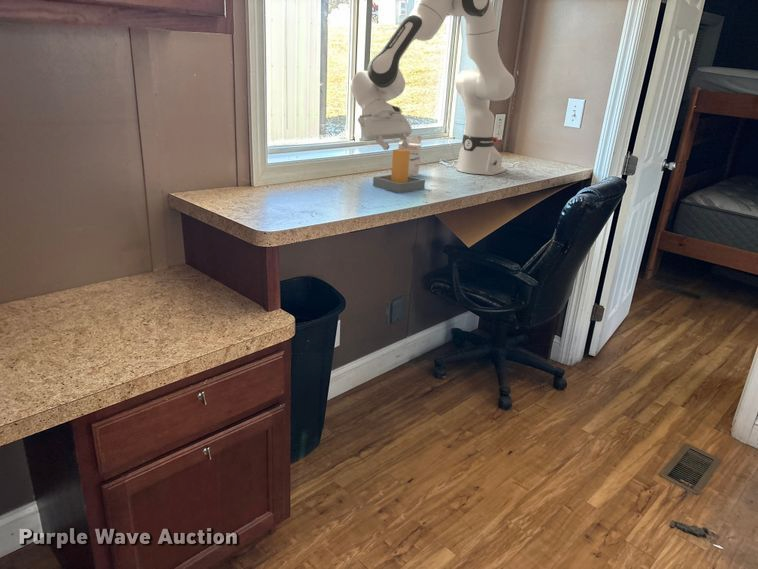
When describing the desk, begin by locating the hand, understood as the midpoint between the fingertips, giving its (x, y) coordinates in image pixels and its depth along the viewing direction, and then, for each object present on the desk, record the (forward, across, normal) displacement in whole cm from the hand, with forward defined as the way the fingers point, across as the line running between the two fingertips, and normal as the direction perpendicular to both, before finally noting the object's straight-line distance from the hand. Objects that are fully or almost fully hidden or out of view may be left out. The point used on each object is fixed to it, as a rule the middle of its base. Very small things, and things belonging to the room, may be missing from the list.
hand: (396, 147), depth 190 cm
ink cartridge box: (+1, +19, +18) cm, 26 cm away
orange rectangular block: (+10, 0, +7) cm, 13 cm away
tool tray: (+11, 0, +8) cm, 13 cm away
